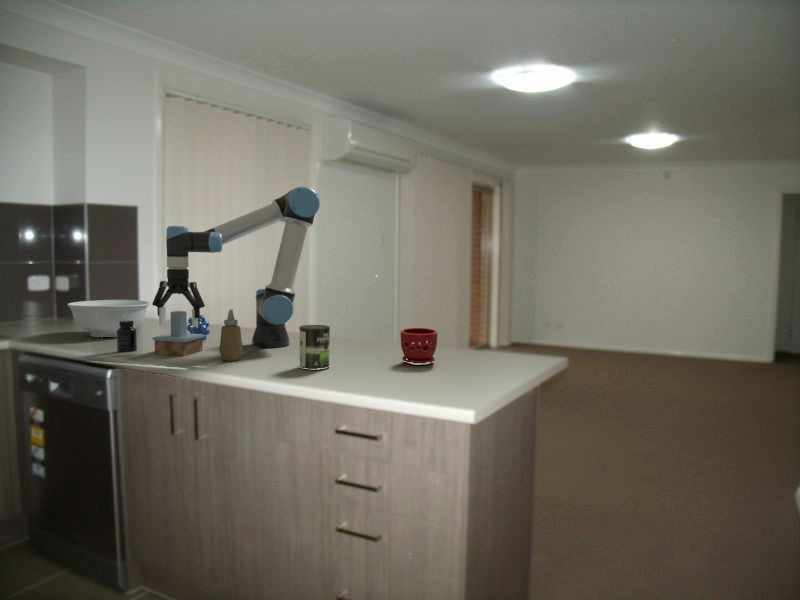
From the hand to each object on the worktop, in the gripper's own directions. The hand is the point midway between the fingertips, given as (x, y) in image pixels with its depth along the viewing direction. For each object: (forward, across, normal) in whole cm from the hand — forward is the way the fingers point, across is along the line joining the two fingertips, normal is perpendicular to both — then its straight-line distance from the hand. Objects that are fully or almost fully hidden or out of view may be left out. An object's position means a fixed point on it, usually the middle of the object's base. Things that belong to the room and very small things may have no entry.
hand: (178, 325), depth 228 cm
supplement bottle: (+11, +20, +3) cm, 23 cm away
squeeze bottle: (+11, -23, +3) cm, 26 cm away
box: (+11, 0, 0) cm, 11 cm away
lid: (+5, 0, 0) cm, 5 cm away
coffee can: (+11, -56, +6) cm, 57 cm away
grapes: (+11, +8, -27) cm, 30 cm away
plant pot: (+11, -88, -13) cm, 90 cm away
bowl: (+11, +54, -30) cm, 63 cm away
